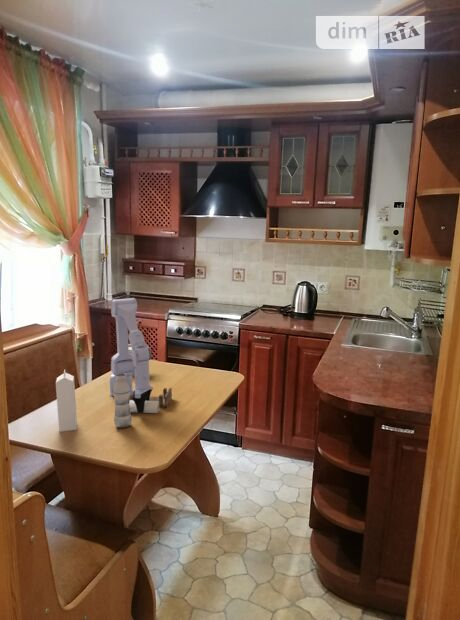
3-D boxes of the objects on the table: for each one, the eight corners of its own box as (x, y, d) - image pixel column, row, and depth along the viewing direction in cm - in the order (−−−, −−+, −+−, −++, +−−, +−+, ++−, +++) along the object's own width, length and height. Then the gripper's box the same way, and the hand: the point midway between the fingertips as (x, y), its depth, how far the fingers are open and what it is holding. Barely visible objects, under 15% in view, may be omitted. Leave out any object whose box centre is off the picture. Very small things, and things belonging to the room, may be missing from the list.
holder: (130, 406, 187) (130, 395, 186) (137, 397, 197) (137, 386, 196) (166, 408, 186) (166, 396, 185) (171, 398, 195) (171, 388, 194)
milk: (59, 432, 164) (54, 374, 160) (60, 425, 170) (55, 369, 166) (76, 430, 166) (72, 372, 161) (77, 423, 171) (73, 367, 167)
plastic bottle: (116, 431, 165) (114, 379, 161) (112, 424, 170) (110, 373, 167) (134, 427, 168) (132, 376, 164) (129, 420, 173) (127, 371, 170)
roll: (126, 414, 180) (126, 402, 179) (130, 409, 185) (130, 398, 184) (156, 415, 179) (156, 403, 178) (159, 410, 184) (159, 399, 183)
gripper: (147, 382, 172) (148, 416, 174) (156, 370, 186) (157, 401, 188) (129, 382, 172) (130, 415, 175) (139, 370, 186) (140, 401, 189)
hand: (143, 408), depth 182 cm, fingers open, 7 cm apart
